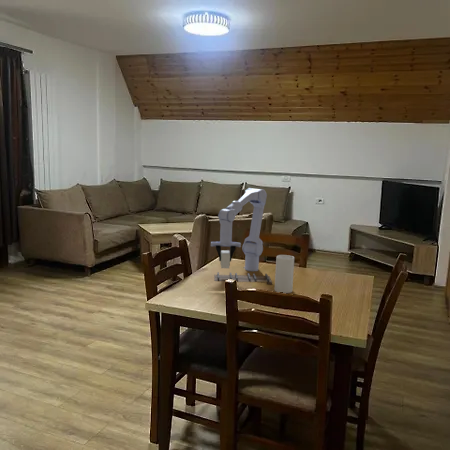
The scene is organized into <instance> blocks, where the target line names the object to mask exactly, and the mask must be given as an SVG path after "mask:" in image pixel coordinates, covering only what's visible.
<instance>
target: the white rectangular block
mask: <svg viewBox="0 0 450 450" xmlns="http://www.w3.org/2000/svg"><path fill="white" fill-rule="evenodd" d="M230 266H231V262H230V250H229V249H227V250H222V249H221V261H220V269H230Z"/></svg>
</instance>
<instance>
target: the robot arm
mask: <svg viewBox="0 0 450 450" xmlns="http://www.w3.org/2000/svg"><path fill="white" fill-rule="evenodd" d="M267 197H268V193H267V192H266V190H265V189H264V188H252V187H248V188H247V189H245V190H244V194H243V195H242V196H241V197H240V198H238V200H233V201H231V203H230V204H228V206H226V208H222V209H220V210H219V212H218V214H217V217H218V220H219V224H220V230H219V241H210V247H215V250H216V252H217V254H218V261H219V262H221V250H222V249H221V248H222V247H229V248H230V249H229V252H230V263H231V262H232V259H233V256H234V253H235V251H236V250H237V247H238V248H241V247H242V252H243V253H244V255H245V258H244V267H243V269H244V270H245V271H247V272H258V271H259V266H260V265H259V264H260V256H261V255H262V253H263V251H264V247H263V244H264V242H263V240H262V239H261V237H260V232H261V228H262V222H263V216H264V210H265V206H266V202H267ZM247 203H250V204H251V205H252V206H253V211H252V216H251V221H250V222H251V223H250V229H249V235H248V236H247V237H246V238H244V241H243V244H242V243H241V242H237V241H233V222H234V221H235V220H236V217H237V215H238V213H240V212H241V211H242V210H243V206H245V205H246V204H247ZM241 245H242V246H241Z"/></svg>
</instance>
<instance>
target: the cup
mask: <svg viewBox="0 0 450 450" xmlns="http://www.w3.org/2000/svg"><path fill="white" fill-rule="evenodd" d="M275 257H276V258H275V259H276V260H275V261H276V262H275V271H274V273H275V275H274V291H275V292H276V293H279V292H283V293H282V294H290V293H292V292H293V284H294V269H295V256H293V255H289V254H288V255H287V254H278V255H276V256H275Z"/></svg>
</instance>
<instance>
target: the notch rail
mask: <svg viewBox="0 0 450 450" xmlns="http://www.w3.org/2000/svg"><path fill="white" fill-rule="evenodd" d="M216 273H217V274H214V275H213V276H214V277H213V278H214V280H213V281H214V282H226V281H225V280H228V279H233V280H236V281H237V282H239V283H241V282H242V283H266V285H273V281H272V278H271V276H270V275H269V274H268V273H264V275H256V273H255V272H254V273H252V275H250V273H247V275H243V274H241V275H240V274H238V273H237V272H234V274H232V272H229V274H220V272H219V271H217V272H216ZM237 282H236V283H237Z"/></svg>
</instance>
